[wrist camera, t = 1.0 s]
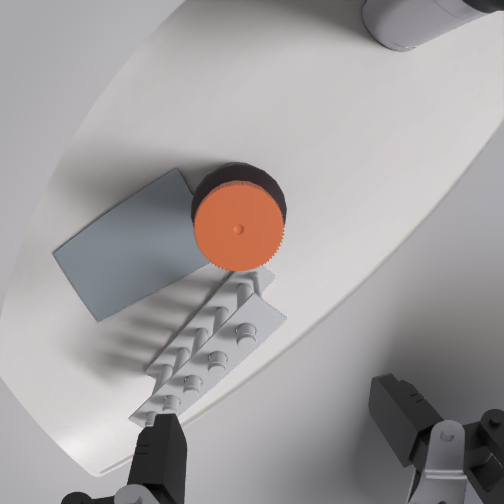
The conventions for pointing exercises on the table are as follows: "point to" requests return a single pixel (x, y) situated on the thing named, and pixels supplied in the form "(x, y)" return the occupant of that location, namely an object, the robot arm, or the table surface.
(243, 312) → the test tube rack
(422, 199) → the table surface
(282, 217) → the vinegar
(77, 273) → the slate mat
